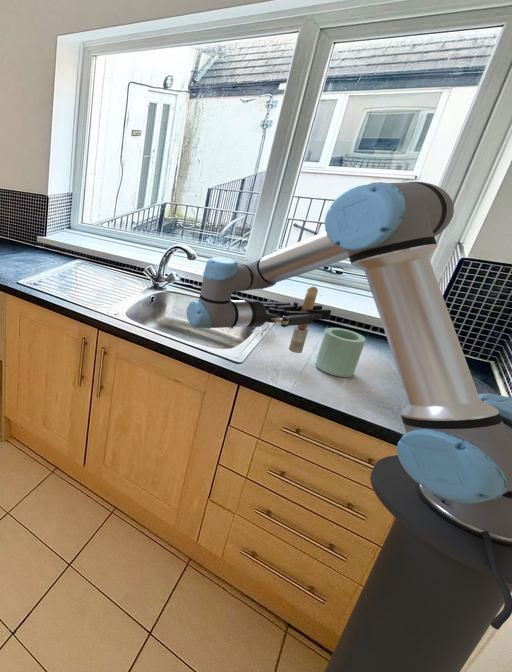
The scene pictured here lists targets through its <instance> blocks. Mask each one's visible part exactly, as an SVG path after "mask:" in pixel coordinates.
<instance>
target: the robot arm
mask: <svg viewBox="0 0 512 672" xmlns="http://www.w3.org/2000/svg"><path fill="white" fill-rule="evenodd" d="M454 212H455V206H454V202H453V199H452V198H451V196H450V194H449V193H448V192H447V191H446V190H444V189H443V188H442V187H439V186H438V185H435V184H432V183H429V182H425V181H424V182H423V181H405V182H382V181H378V182H371V183H368V184H361V185H357V186H354V187H352V188H349V189H347V190H346V191H344V192H342V193H341V194H340V195H338V196H337V198H335V199H334V201H333V202H332V203H331V205H330V207H329V208H328V210H327V212H326V214H325V218H324V229H325V231H323V232H321V233H318V234H316V235H313V236H310V237H309V238H306V239H304V240H301V241H298V242H297V243H294V244H292V245H290V246H289V245H288V246H287V247H284V248H282V249H279V250H277V251H275V252H272V253H270V254H268V255H264V256H263V257H260V258H258V259H255V260H253V261H250V262H246V263H245V262H244V263H238V262H237V261H236V260H234V259H231V258H228V257H218V256H217V257H210V258H209V259H208V260H207V261H206V264H205V267H204V271H203V274H202V275H203V278H202V281H201V286H200V287H201V288H200V293H199V296H198V300H193V301H190V302H189V304H188V305H187V307H186V319H187V321H188V323H189V325H190V326H191V327H193V328H195V329H208V330H209V329H221V328H230V329H234V328H256V327H259V328H260V326H262V325H263V324H264V323H266V322H269V323H271V324H272V323H273V324H274V323H279V324H280V327H282V328H287V327H290V326H292V327H293V326H297V325H304V324H308V325H312V323H313V321H319V320H320V321H326V320H327V321H328V320H329V319H330V317H331V314H332V309H323V305H320V304H319V305H318V304H317V305H315V304H314V306H313V309H312V310H307V311H301V310H302V306H303V305H299V303H298V302H297V301H296V302H295V301H293V304H292V302H287V301H284V302H283V301H281V302H280V301H260V300H257V299H249V300H247V299H245V300H243V299H239V300H237V299H235V300H231V299H232V295H233V293H238V292H245V291H252V290H264V289H268V288H271V287H273V286H275V285H276V284H277V283H280V282H282V281H285V280H288V279H292V278H294V277H298V276H301V275H304V274H306V273H310V272H313V271H315V270H319V269H322V268H324V267H327V266H332V265H333V264H336V263H339V262H342V261H346V260H348V259H349V262H350V265H351V266H352V267H355V268H357V269H359V270H361V271H363V272H364V274H365V276H366V279H367V280H366V281H367V282H368V286H369V289H370V291H371V295H372V297H373V300H374V303H375V306H376V310H377V312H378V316H379V318H380V321H381V324H382V327H383V331H384V334H385V336H386V340H387V342H388V345H389V346H388V347H389V348H390V352H391V354H392V358H393V360H394V364H395V367H396V370H397V373H398V375H399V379H400V381H401V384H402V387H403V391H404V393H405V396H406V399H407V403H406V405H405V406H404V407H403V408H402V409H401V410H400V412H399V414H400V417H401V420H402V423H403V427H404V430H405V432H404V433H403V435H402V436H401V437H400V439H399V441H398V442H397V445H396V455H398V458H399V460H400V463H401V464H402V466H403V468H404V469H405V470H406V472H407V473H408V474H409V475H410V476H411V477H412V478H413V479H414V480H415V481H416V482H417V483H418V484H417V492H418V494H419V496H420V497H421V499H422V500H423V501H424V502H425V504H426V505H427V506H428V507H430V508H431V509H432V510H433V511H434V512H435V513H437V514H438V515H439V516H441V517H442V518H443V519H445V520H446V521H448V522H449V523H451V524H453V525H454V526H456V527H458V528H460V529H462V530H464V531H465V532H468V533H470V534H472V535H474V536H476V537H479V538H481V539H484V542H485V546H486V550H487V554H488V558H489V563H490V566H491V570H492V572H493V575H494V577H495V579H496V581H497V583H498V585H499V586H500V588H501V590H502V593H503V595H504V601H505V602H504V604H503V607H502V609H501V610H500V611H499V612H498V614H497V615H496V617H495V618H494V620H493V621H492V622H491V625H490V627H492V628H493V629H494V630H500V628H501V627H503V625H504V624H505V623H506V622H507V621H508V619H509V618H510V617H511V616H512V592H511V593H510V591H509V589H508V587H507V586H506V584H505V582H504V580H503V578H502V576H501V574H500V571H499V568H498V564H497V560H496V556H495V552H494V549H493V545H492V543H496V544H499V545H503V546H509V547H512V397H509V396H506V395H501V394H496V393H489V392H488V393H478V390H477V387H476V385H475V381H474V379H473V376H472V374H471V370H470V369H469V365H468V362H467V360H466V357H465V354H464V351H463V348H462V345H461V343H460V340H459V337H458V334H457V332H456V329H455V325H454V324H453V321H452V318H451V316H450V313H449V310H448V306H447V303H446V302H445V299H444V295H443V293H442V291H441V288H440V285H439V282H438V280H437V279H438V278H437V277H436V274H435V271H434V268H433V266H432V262H431V260H430V258H431V256H432V254H433V253H434V252H435V250H436V249H437V248H438V244H437V240H436V237H437V236H439V235H440V234H441V233H443V232H444V231H445V230H446V229H447V227H448V226H449V225H450V224H451V222H452V220H453V217H454V214H455V213H454ZM264 325H265V324H264Z"/></svg>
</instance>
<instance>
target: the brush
mask: <svg viewBox="0 0 512 672" xmlns="http://www.w3.org/2000/svg"><path fill="white" fill-rule="evenodd" d="M317 295H318V288H317V287H316V286H308V287H307V289H306V292H305V295H304V299H303V303H302V305H301V306H302V310H301V311H307V310H312V309H313V306H314V305H315V303H316V299H317ZM308 326H309V324H304V325H296V326H294V329H293V332H292V334H291V335H292V336H291V339H290V341H289V342H290V343H289V346H288V350H289V352H292V353H294V354H301V353H302V352H303V350H304V347H305V343H306V339H307V336H308V333H309V329H308Z"/></svg>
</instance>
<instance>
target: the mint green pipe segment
mask: <svg viewBox="0 0 512 672" xmlns="http://www.w3.org/2000/svg"><path fill="white" fill-rule="evenodd" d="M365 344H366V337H365V336H364V335H362V334H360V333H358V332H356V331H353V330H349V329H345V328H341V327H328V328H326V329H325V331H324V334H323V337H322V340H321V343H320V346H319V349H318V353H317V356H316V358H315V362H314V365H315V367H316V368H318V369H319V370H321V371H322V372H324V373H326V374H329V375H332V376H336V377H341V378H350V377H352V376H354V374H355V371H356V368H357V366H358V363H359V360H360V357H361V355H362V352H363V349H364V346H365Z"/></svg>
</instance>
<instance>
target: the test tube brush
mask: <svg viewBox="0 0 512 672" xmlns="http://www.w3.org/2000/svg"><path fill="white" fill-rule="evenodd" d="M266 302H271V299H269V298H268V299H267V301H266ZM273 324H274V323H269V322H266V323H264V324H263V325H262V326H260V327H254V328H253V329H252V330H251V332H252V333H259V332H260V333H259V336H261V338H263V337H264V333H265V334H269V335H271V336H272V337H274V338H275V339H277V336H276V334H275V333H274V329H272V325H273Z"/></svg>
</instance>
